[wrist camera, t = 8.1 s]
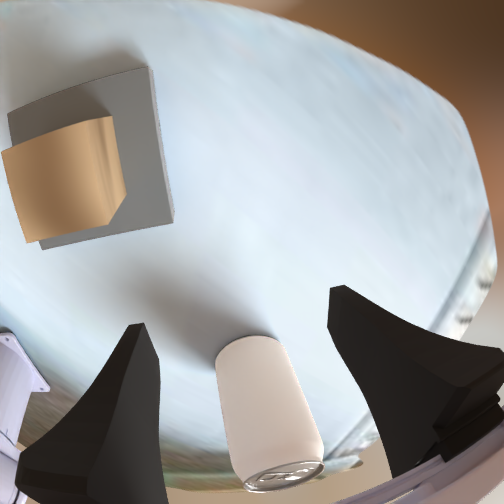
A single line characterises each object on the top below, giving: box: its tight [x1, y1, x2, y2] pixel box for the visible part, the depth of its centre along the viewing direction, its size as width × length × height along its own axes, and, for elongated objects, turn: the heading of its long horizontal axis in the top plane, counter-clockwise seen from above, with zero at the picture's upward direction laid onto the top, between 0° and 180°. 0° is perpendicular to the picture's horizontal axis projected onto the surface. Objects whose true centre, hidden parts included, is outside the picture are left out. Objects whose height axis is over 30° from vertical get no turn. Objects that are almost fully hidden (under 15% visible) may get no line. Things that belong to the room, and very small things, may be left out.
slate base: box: [7, 67, 175, 250], centre depth 15 cm, size 9×9×2 cm
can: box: [215, 335, 325, 493], centre depth 21 cm, size 6×6×12 cm
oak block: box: [1, 116, 127, 243], centre depth 13 cm, size 4×4×4 cm
